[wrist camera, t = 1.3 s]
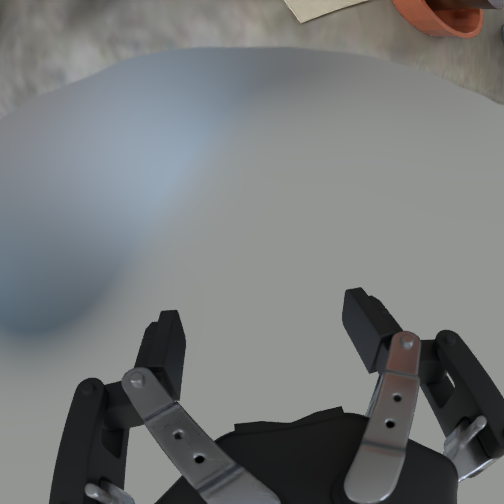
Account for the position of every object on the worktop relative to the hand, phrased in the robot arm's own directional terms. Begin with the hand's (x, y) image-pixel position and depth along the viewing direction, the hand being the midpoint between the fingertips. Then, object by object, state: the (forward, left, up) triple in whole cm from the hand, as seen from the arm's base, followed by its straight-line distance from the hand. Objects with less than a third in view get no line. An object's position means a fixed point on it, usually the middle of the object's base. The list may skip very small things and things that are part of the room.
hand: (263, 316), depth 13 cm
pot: (-10, +37, -28) cm, 47 cm away
